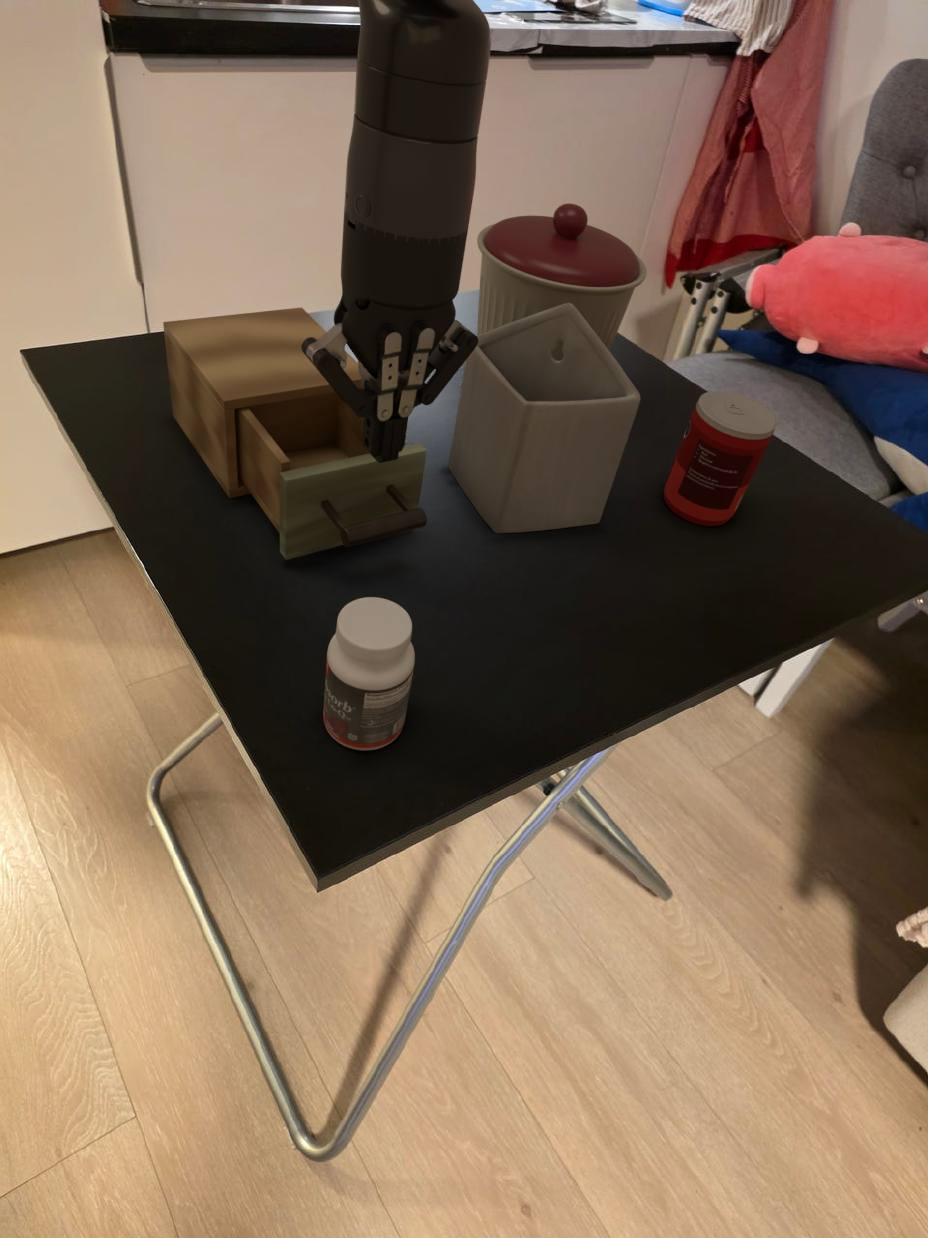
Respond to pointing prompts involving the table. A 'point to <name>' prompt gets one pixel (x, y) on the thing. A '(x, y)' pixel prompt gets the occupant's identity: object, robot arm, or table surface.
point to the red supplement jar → (718, 457)
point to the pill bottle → (368, 674)
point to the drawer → (325, 475)
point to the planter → (541, 423)
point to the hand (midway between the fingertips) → (381, 455)
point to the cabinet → (238, 377)
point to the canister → (555, 272)
